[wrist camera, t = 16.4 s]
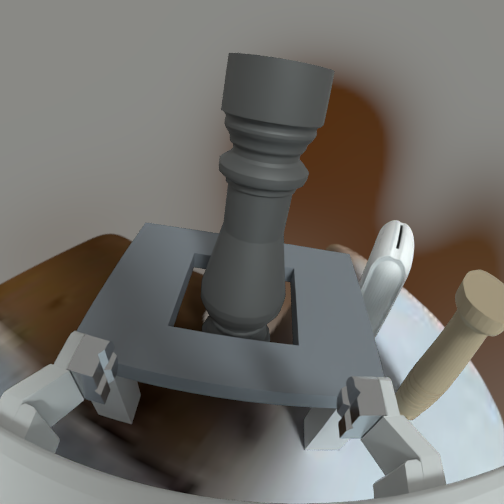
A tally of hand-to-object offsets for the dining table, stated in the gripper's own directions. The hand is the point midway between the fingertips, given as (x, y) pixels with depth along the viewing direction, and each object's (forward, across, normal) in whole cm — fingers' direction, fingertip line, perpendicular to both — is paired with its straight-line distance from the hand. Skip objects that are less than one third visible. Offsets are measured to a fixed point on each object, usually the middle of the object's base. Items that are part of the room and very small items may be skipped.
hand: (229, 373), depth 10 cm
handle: (+8, -17, +16) cm, 24 cm away
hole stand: (+12, 0, +16) cm, 19 cm away
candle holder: (+12, 0, +16) cm, 20 cm away
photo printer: (+20, -15, +16) cm, 30 cm away
